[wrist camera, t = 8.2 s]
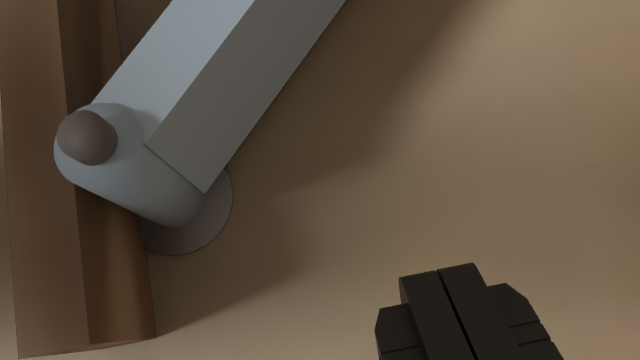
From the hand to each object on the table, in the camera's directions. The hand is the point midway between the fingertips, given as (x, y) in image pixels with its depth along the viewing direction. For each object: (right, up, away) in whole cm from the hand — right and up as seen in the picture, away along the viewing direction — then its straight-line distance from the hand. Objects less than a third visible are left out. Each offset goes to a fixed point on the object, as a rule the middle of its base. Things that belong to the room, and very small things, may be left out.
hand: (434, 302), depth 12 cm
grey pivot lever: (-5, +7, +13) cm, 16 cm away
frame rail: (-10, +4, +13) cm, 17 cm away
